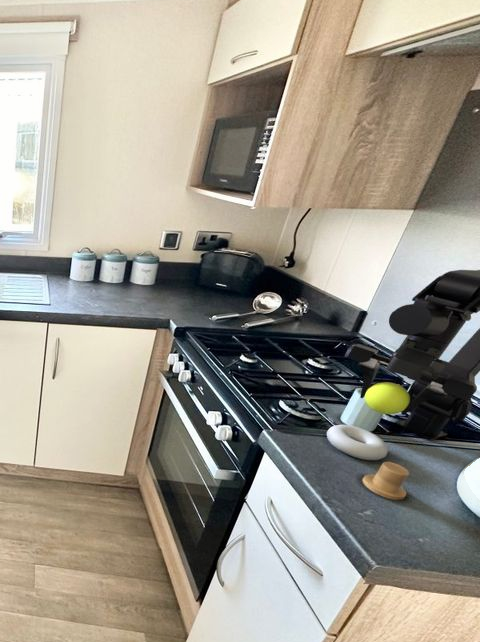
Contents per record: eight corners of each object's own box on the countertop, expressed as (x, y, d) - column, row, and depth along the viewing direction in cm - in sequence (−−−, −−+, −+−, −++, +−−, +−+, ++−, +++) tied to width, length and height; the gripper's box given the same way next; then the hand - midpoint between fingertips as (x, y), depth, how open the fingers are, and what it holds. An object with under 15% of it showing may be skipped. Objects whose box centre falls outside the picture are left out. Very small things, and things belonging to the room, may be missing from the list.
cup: (351, 414, 101) (366, 386, 97) (380, 429, 96) (397, 400, 92) (334, 418, 99) (349, 390, 96) (362, 433, 94) (379, 404, 90)
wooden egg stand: (375, 474, 82) (387, 454, 80) (412, 496, 77) (426, 476, 74) (354, 480, 80) (366, 460, 78) (391, 503, 75) (405, 482, 73)
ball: (379, 386, 89) (389, 370, 84) (413, 408, 84) (425, 393, 80) (352, 402, 90) (360, 387, 85) (384, 425, 85) (394, 410, 80)
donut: (395, 466, 84) (359, 435, 93) (404, 453, 83) (367, 423, 92) (344, 461, 85) (313, 431, 94) (352, 449, 84) (319, 419, 92)
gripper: (361, 321, 81) (318, 389, 87) (500, 364, 68) (439, 440, 74) (371, 319, 88) (331, 382, 94) (500, 357, 75) (444, 427, 81)
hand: (381, 405), depth 85 cm, fingers closed on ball, 6 cm apart
